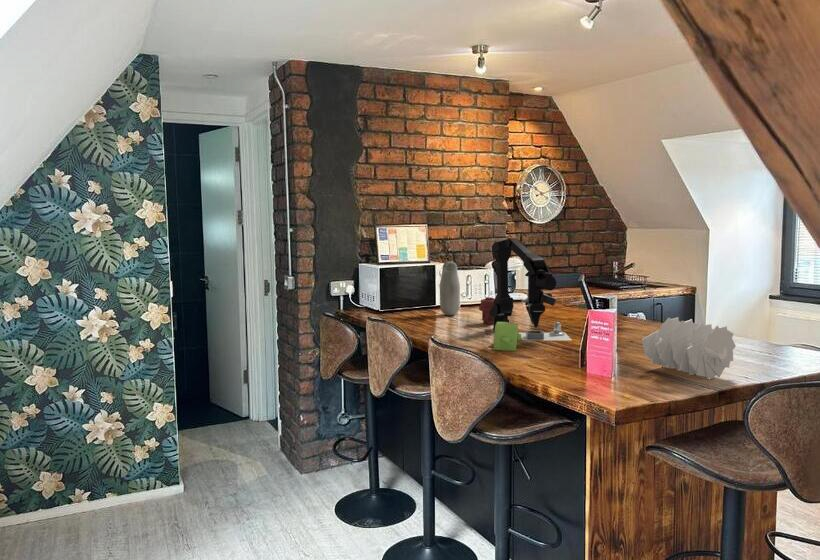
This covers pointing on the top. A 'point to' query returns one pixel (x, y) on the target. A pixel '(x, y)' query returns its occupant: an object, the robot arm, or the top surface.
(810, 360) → the top surface
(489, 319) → the mechanical component
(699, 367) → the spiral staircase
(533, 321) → the robot arm
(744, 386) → the top surface
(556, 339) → the mat
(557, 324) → the silver domed knob
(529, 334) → the square frame
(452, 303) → the grey bottle
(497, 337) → the green pegged block
